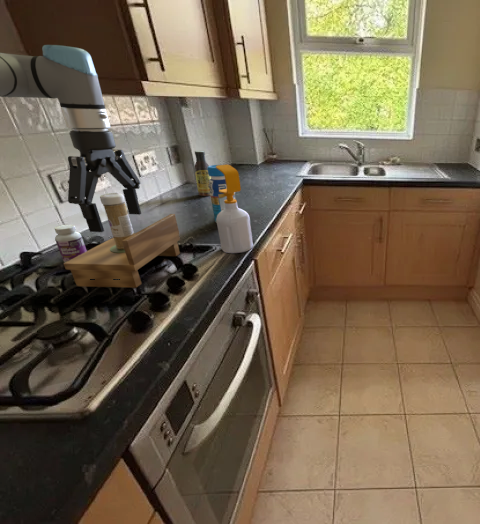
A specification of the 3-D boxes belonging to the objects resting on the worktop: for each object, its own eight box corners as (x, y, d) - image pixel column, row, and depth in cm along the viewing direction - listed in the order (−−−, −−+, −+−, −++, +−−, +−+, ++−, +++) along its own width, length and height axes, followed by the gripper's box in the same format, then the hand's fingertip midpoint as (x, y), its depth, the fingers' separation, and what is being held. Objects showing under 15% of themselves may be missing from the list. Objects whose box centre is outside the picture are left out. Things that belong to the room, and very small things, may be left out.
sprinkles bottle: (112, 248, 83) (94, 195, 78) (130, 242, 87) (114, 191, 81) (124, 251, 82) (107, 197, 76) (142, 244, 86) (127, 193, 80)
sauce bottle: (199, 197, 153) (190, 152, 144) (198, 194, 157) (189, 150, 149) (214, 195, 156) (207, 151, 147) (213, 192, 160) (205, 150, 152)
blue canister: (218, 217, 127) (209, 164, 118) (241, 217, 128) (233, 164, 119) (211, 224, 119) (200, 168, 111) (235, 224, 120) (226, 168, 111)
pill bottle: (64, 266, 87) (50, 231, 83) (63, 259, 91) (50, 226, 87) (90, 260, 90) (78, 227, 86) (88, 254, 94) (76, 222, 90)
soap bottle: (241, 240, 107) (229, 161, 96) (259, 247, 102) (249, 165, 91) (215, 248, 100) (200, 165, 89) (233, 256, 95) (219, 169, 85)
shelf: (72, 286, 78) (53, 239, 73) (128, 252, 96) (115, 212, 91) (141, 287, 78) (127, 240, 73) (184, 253, 96) (174, 214, 91)
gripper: (59, 135, 61) (95, 241, 70) (142, 127, 84) (161, 208, 93) (18, 133, 61) (59, 239, 70) (113, 126, 84) (134, 207, 93)
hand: (117, 222), depth 82 cm, fingers open, 13 cm apart
